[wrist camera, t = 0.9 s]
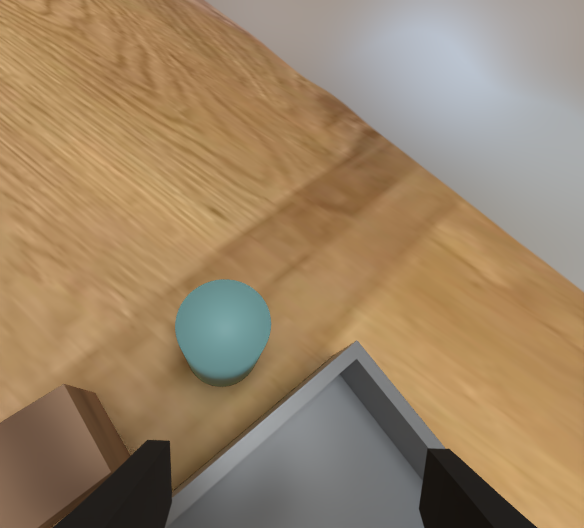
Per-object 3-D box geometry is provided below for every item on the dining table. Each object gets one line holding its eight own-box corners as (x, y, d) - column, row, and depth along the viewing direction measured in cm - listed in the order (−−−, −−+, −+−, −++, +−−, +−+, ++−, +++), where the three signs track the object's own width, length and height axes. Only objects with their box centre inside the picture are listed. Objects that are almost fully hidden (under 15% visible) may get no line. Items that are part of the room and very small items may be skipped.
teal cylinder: (212, 402, 23) (209, 392, 16) (173, 342, 24) (156, 311, 18) (272, 357, 25) (289, 333, 18) (232, 303, 26) (236, 264, 20)
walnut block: (46, 530, 18) (-8, 561, 14) (9, 449, 20) (-53, 454, 15) (134, 462, 20) (111, 471, 16) (95, 393, 22) (63, 383, 17)
